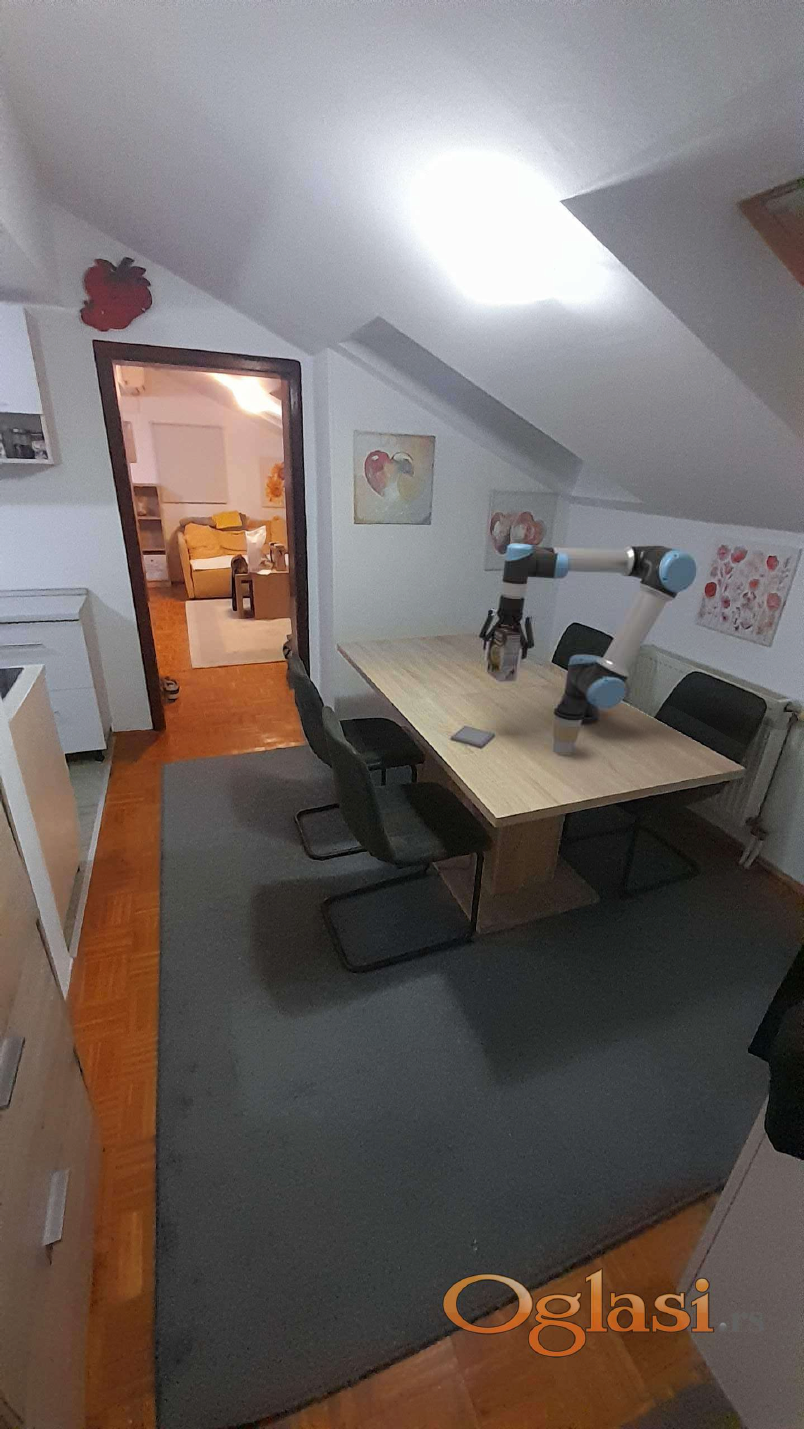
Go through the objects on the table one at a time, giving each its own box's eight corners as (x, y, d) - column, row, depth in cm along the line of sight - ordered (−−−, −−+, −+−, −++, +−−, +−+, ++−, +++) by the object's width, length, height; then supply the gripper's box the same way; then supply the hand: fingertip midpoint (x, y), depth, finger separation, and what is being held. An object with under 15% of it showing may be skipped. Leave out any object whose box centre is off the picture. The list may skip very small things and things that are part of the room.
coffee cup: (555, 742, 194) (562, 700, 188) (582, 751, 189) (590, 708, 183) (542, 751, 187) (549, 708, 182) (570, 761, 182) (578, 717, 176)
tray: (494, 736, 196) (494, 733, 196) (481, 748, 187) (481, 745, 187) (464, 728, 201) (465, 725, 201) (450, 739, 192) (450, 736, 192)
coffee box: (485, 672, 194) (492, 625, 187) (503, 671, 196) (509, 624, 190) (499, 682, 186) (506, 632, 180) (516, 681, 188) (524, 632, 182)
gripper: (552, 600, 178) (540, 669, 187) (483, 588, 189) (475, 653, 197) (544, 604, 172) (532, 675, 181) (473, 591, 183) (465, 659, 191)
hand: (502, 664), depth 189 cm, fingers closed on coffee box, 10 cm apart
